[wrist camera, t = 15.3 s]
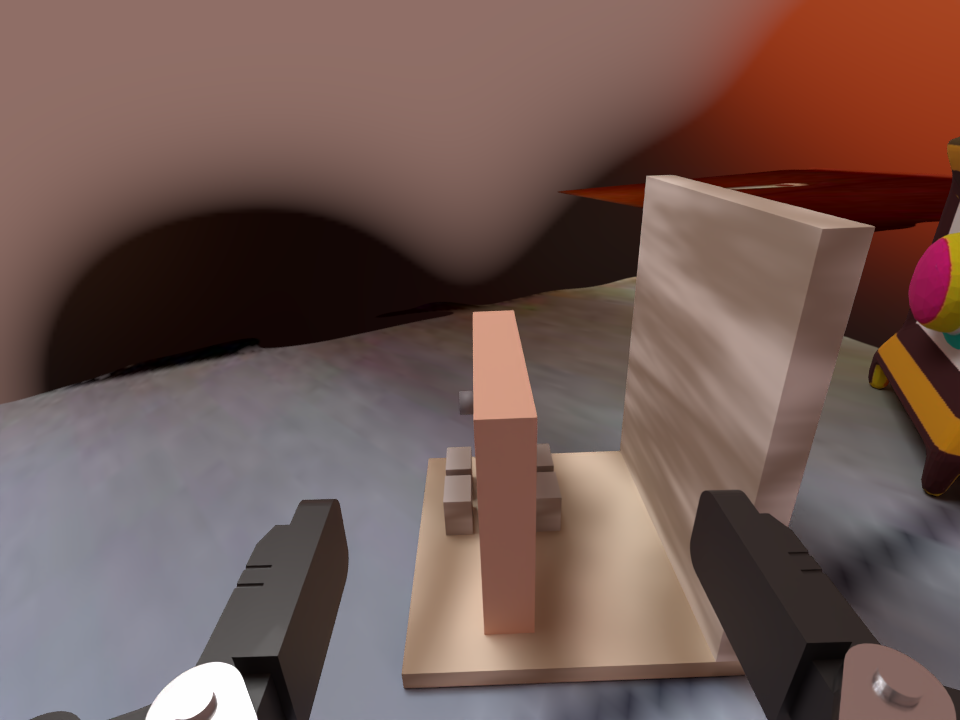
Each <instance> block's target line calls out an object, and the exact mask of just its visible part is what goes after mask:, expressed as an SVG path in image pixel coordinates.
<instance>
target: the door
mask: <svg viewBox="0 0 960 720" xmlns="http://www.w3.org/2000/svg"><path fill="white" fill-rule="evenodd" d="M459 406H460V415H471V414H474V438H475V458H476V478H477V498H478V518H479V538H480V558H481V578H482V598H483V618H484V635H491V634H517V633H535V560H536V481H537V414H536V409H535V405H534V400H533V396H532V391H531V387H530V382H529V378H528V373H527V369H526V364H525V360H524V355H523V351H522V346H521V342H520V337H519V333H518V329H517V324H516V320H515V315H514V311H489V312H473V391H459Z"/></svg>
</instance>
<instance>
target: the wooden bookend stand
mask: <svg viewBox="0 0 960 720" xmlns="http://www.w3.org/2000/svg"><path fill="white" fill-rule="evenodd" d="M874 229H875V227H874V226H870V225H866V224H862V223H858V222H855V221H851V220H847V219H843V218H839V217H835V216H831V215H827V214H823V213H819V212H815V211H812V210H808V209H804V208H800V207H796V206H792V205H788V204H784V203H780V202H776V201H772V200H769V199H765V198H761V197H757V196H753V195H749V194H745V193H741V192H737V191H733V190H729V189H725V188H722V187H718V186H714V185H710V184H706V183H702V182H698V181H694V180H690V179H686V178H682V177H679V176H675V175H662V176H647V178H646V188H645V198H644V208H643V220H642V229H641V240H640V250H639V260H638V271H637V281H636V291H635V301H634V312H633V322H632V332H631V343H630V353H629V363H628V374H627V384H626V394H625V404H624V415H623V425H622V435H621V446H620V451H607V452H582V453H557V454H551V451H550V447H549V444H537V481H536V560H535V633H517V634H491V635H484V618H483V598H482V578H481V558H480V538H479V518H478V498H477V478H476V458H475V457H472V455H471V447H450V448H447V457H446V458H432V459H429V462H428V470H427V478H426V486H425V494H424V502H423V510H422V518H421V526H420V534H419V541H418V549H417V557H416V565H415V573H414V581H413V589H412V597H411V605H410V613H409V620H408V628H407V636H406V644H405V652H404V660H403V668H402V679H403V686H404V688H425V687H451V686H476V685H502V684H527V683H553V682H579V681H604V680H630V679H655V678H681V677H706V676H732V675H745V672H744V670H743V668H742V666H741V664H740V662H739V660H738V658H737V656H736V654H735V652H734V650H733V648H732V646H731V644H730V642H729V640H728V638H727V636H726V634H725V632H724V630H723V628H722V626H721V623H720V621H719V619H718V617H717V615H716V613H715V611H714V609H713V607H712V605H711V603H710V601H709V599H708V597H707V595H706V593H705V591H704V589H703V587H702V585H701V583H700V581H699V579H698V577H697V575H696V573H695V570H694V568H693V565H692V561H691V555H690V540H691V535H692V531H693V526H694V521H695V517H696V512H697V508H698V503H699V499H700V495H701V493H702V492H703V491H705V490H741V491H743V492H744V493H745V494H746V495H747V497H748V498H749V500H750V501H751V502H752V504H753V505H754V506H755V508H756V509H757V511H758V512H759V513H769V514H771V515H772V516H773V517H775V518H776V519H777V520H779V521H780V522H781V523H783V524H784V525H785V526H787V527H788V526H789V522H790V519H791V515H792V512H793V508H794V505H795V501H796V498H797V495H798V491H799V488H800V484H801V481H802V477H803V474H804V470H805V467H806V464H807V460H808V457H809V453H810V450H811V446H812V443H813V439H814V436H815V432H816V429H817V426H818V422H819V419H820V415H821V412H822V408H823V405H824V401H825V398H826V394H827V391H828V388H829V384H830V381H831V377H832V374H833V370H834V367H835V363H836V360H837V357H838V353H839V350H840V346H841V343H842V339H843V336H844V332H845V329H846V325H847V322H848V318H849V315H850V312H851V308H852V305H853V301H854V298H855V294H856V291H857V287H858V284H859V281H860V277H861V274H862V270H863V267H864V263H865V259H866V256H867V253H868V249H869V246H870V243H871V239H872V235H873V232H874Z"/></svg>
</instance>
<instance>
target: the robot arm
mask: <svg viewBox="0 0 960 720" xmlns="http://www.w3.org/2000/svg"><path fill="white" fill-rule="evenodd" d="M690 555H691V561H692V565H693V568H694V570H695V573H696V575H697V577H698V579H699V581H700V583H701V585H702V587H703V589H704V591H705V593H706V595H707V597H708V599H709V601H710V603H711V605H712V607H713V609H714V611H715V613H716V615H717V617H718V619H719V621H720V623H721V626H722V628H723V630H724V632H725V634H726V636H727V638H728V640H729V642H730V644H731V646H732V648H733V650H734V652H735V654H736V656H737V658H738V660H739V662H740V664H741V666H742V668H743V670H744V672H745V674H746V676H747V678H748V680H749V683H750V685H751V687H752V689H753V691H754V693H755V695H756V697H757V699H758V701H759V703H760V705H761V707H762V709H763V711H764V713H765V715H766V717H767V719H768V720H960V690H956V689H952V688H949V687H946V686H943V685H942V684H941V683H940V682H939V681H938V680H937V679H936V678H935V677H934V675H933V674H931V673H930V672H929V671H928V670H927V669H926V668H925V667H923V666H922V665H921V664H919V663H918V662H916V661H915V660H913V659H912V658H910V657H908V656H907V655H905V654H903V653H901V652H899V651H897V650H894V649H892V648H889V647H886V646H882V645H881V644H880V643H879V642H878V641H877V640H876V638H875V637H874V636H873V635H872V633H871V632H870V631H869V629H868V628H867V627H866V626H865V624H864V623H863V622H862V620H861V619H860V618H859V616H858V615H857V614H856V613H855V611H854V610H853V609H852V607H851V606H850V605H849V604H848V602H847V601H846V600H845V598H844V597H843V596H842V594H841V593H840V592H839V591H838V589H837V588H836V587H835V585H834V584H833V583H832V582H831V580H830V579H829V578H828V576H827V575H826V574H823V573H822V569H821V567H820V566H819V565H818V563H817V562H816V561H815V560H814V558H813V557H812V556H809V554H808V550H807V549H806V548H805V547H804V545H803V544H802V543H801V541H800V540H799V539H798V538H797V536H796V535H795V534H794V532H793V531H792V530H791V529H789V528H788V527H787V526H785V525H784V524H783V523H781V522H780V521H779V520H777V519H776V518H775V517H773V516H772V515H771V514H769V513H759V512H758V511H757V509H756V508H755V506H754V505H753V504H752V502H751V501H750V500H749V498H748V497H747V495H746V494H745V493H744V492H743V491H741V490H705V491H703V492H702V493H701V495H700V499H699V503H698V508H697V512H696V517H695V521H694V526H693V531H692V535H691V540H690ZM348 559H349V557H348V547H347V541H346V536H345V530H344V525H343V519H342V514H341V508H340V504H339V501H338V500H337V499H320V500H302V501H301V502H300V503H299V505H298V507H297V510H296V512H295V514H294V517H293V519H292V521H291V523H290V525H275V526H274V527H273V528H272V529H271V530H270V531H269V532H268V533H267V534H266V535H265V536H264V537H263V538H262V539H261V540H260V541H259V542H258V543H257V545H256V547H255V549H254V551H253V553H252V555H251V557H250V559H249V561H248V563H247V565H246V570H244V571H243V573H242V575H241V577H240V579H239V581H238V583H237V588H235V589H234V591H233V593H232V595H231V597H230V599H229V601H228V603H227V605H226V607H225V609H224V611H223V613H222V615H221V617H220V619H219V621H218V623H217V625H216V627H215V629H214V631H213V633H212V635H211V637H210V639H209V641H208V643H207V645H206V647H205V649H204V651H203V653H202V655H201V657H200V659H199V661H198V662H197V664H196V666H195V667H194V668H192V669H190V670H188V671H186V672H184V673H183V674H181V675H180V676H178V677H177V678H176V679H174V680H173V681H172V682H170V683H169V684H168V685H167V686H166V687H165V688H164V689H163V690H162V692H161V693H160V694H159V695H158V696H157V698H156V699H155V701H154V702H153V703H152V704H150V705H148V706H146V707H143V708H141V709H138V710H135V711H132V712H129V713H126V714H123V715H121V716H118V717H115V718H112V719H109V720H309V717H310V714H311V710H312V706H313V702H314V699H315V695H316V691H317V687H318V684H319V680H320V676H321V672H322V669H323V665H324V661H325V657H326V654H327V650H328V646H329V642H330V639H331V635H332V631H333V627H334V624H335V620H336V616H337V612H338V609H339V605H340V601H341V597H342V594H343V590H344V586H345V582H346V578H347V573H348ZM30 720H80V719H79V718H78V717H77V716H76V715H74V714H73V713H70V712H65V711H57V712H51V713H46V714H43V715H40V716H37V717H35V718H33V719H30Z"/></svg>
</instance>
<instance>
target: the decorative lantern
mask: <svg viewBox="0 0 960 720" xmlns="http://www.w3.org/2000/svg"><path fill="white" fill-rule="evenodd" d="M947 151H948V152H947V154H948V157H949V162H950V165H951V169H952V174H953V180H952V185H951V189H950V192H949V195H948V198H947V201H946V204H945V207H944V210H943V213H942V216H941V219H940V222H939V225H938V228H937V231H936V234H935V236H934V239H933V242H932V245H931V246H930V247H929V248H928V249H927V250H926V252H925V253H924V254H923V256H922V257H921V259H920V261H919V262H918V264H917V266H916V269H915V271H914V274H913V277H912V280H911V284H910V287H909V302H910V310H909V312H908V315H907V318H906V321H905V323H904V325H903V326H902V328H901V329H900V330H899V331H898V332H897V333H896V334H895V335H894V336H892V337H891V338H890V339H889V340H888V341H887V342H885V343H884V344H883V345H882V346H881V347H880V348H879V349H878V350H877V351H876V353H875V354H874V357H873V360H872V363H871V366H870V370H869V376H868V378H869V383H870V384H871V385H872V387H874V388H877V389H880V388H884V387H886V386H887V385H888V384H889V383H890V384H891V386H892V388H893V389H894V391H895V393H896V395H897V396H898V398H899V400H900V401H901V403H902V405H903V407H904V408H905V410H906V412H907V413H908V415H909V417H910V419H911V420H912V422H913V424H914V425H915V427H916V429H917V431H918V432H919V434H920V436H921V438H922V439H923V441H924V444H925V447H926V454H927V457H926V461H925V466H924V470H923V474H922V479H921V480H922V488H923V489H924V490H925V491H926V492H927V493H928V494H931V495H935V496H939V495H941V494H943V493H945V492H946V491H947V489H948V488H949V487H950V486H951V484H952V483H953V482H954V481H955V479H956V478H957V477H958V476H959V475H960V137H958V138H955V139H952V140H951V141H949V143H948V145H947Z"/></svg>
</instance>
